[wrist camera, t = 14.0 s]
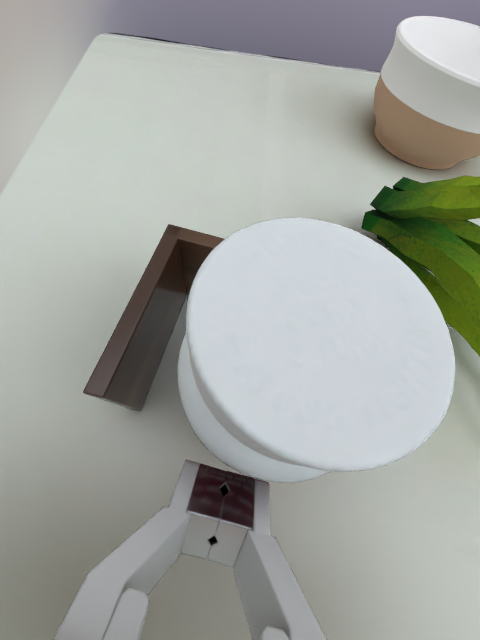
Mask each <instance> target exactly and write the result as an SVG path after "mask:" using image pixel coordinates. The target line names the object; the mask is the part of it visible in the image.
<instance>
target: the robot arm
mask: <svg viewBox="0 0 480 640" xmlns="http://www.w3.org/2000/svg"><path fill="white" fill-rule="evenodd" d="M199 465H200V466H199ZM180 553H182V554H186V555H190V556H195V557H199V558H203V559H207V560H210V561H213V562H216V563H220V564H223V565H226V566H229V567H232V568H233V572H234V576H235V579H236V583H237V586H238V590H239V593H240V597H241V600H242V604H243V608H244V611H245V615H246V618H247V622H248V625H249V629H250V632H251V636H252V640H327V639H326V637H325V635H324V633H323V631H322V629H321V627H320V625H319V623H318V621H317V619H316V617H315V615H314V613H313V611H312V609H311V607H310V605H309V603H308V601H307V599H306V597H305V595H304V593H303V591H302V589H301V587H300V585H299V583H298V581H297V579H296V577H295V575H294V573H293V571H292V569H291V567H290V565H289V563H288V561H287V559H286V557H285V555H284V553H283V551H282V549H281V547H280V545H279V543H278V541H277V539H276V537H273V536H271V519H270V486H269V483H268V482H265V481H262V480H258V479H254V478H252V477H248V476H244V475H240V474H237V473H233V472H229V471H227V472H226V471H223V470H220V469H217V468H213V467H210V466H207V465H204V464H200V463H197V462H193V461H190V460H186V461H185V463H184V465H183V468H182V470H181V473H180V476H179V479H178V482H177V484H176V487H175V490H174V493H173V496H172V498H171V501H170V504H169V507H163V508H161V509H160V510H159V511H158V512H157V513H156V514H155V515H153V516H152V517H151V518H150V519H149V520H148V521H147V522H145V523H144V524H143V525H142V526H141V527H140V528H139V529H138V530H136V531H135V532H134V533H133V534H132V535H131V536H130V537H128V538H127V539H126V540H125V541H124V542H123V543H122V544H121V545H119V546H118V547H117V548H116V549H115V550H114V551H113V552H111V553H110V554H109V555H108V556H107V557H106V558H105V559H103V560H102V561H101V562H100V563H99V564H98V565H97V566H96V567H94V568H93V569H92V570H91V571H90V572H89V573H88V574H87V576H86V578H85V580H84V582H83V584H82V586H81V587H80V589H79V591H78V593H77V595H76V597H75V599H74V601H73V603H72V604H71V606H70V608H69V610H68V612H67V614H66V616H65V618H64V619H63V621H62V623H61V625H60V627H59V629H58V631H57V633H56V634H55V636H54V638H53V640H140V639H141V634H142V630H143V626H144V621H145V617H146V613H147V609H148V604H149V598H148V596H147V595H148V594H149V593H150V592H151V590H152V589H153V588H154V587H155V585H156V584H157V583H158V582H159V581H160V579H161V578H162V577H163V576H164V574H165V573H166V572H167V571H168V569H169V568H170V567H171V566H172V564H173V563H174V562H175V561H176V559H177V558H178V557H179V556H180Z"/></svg>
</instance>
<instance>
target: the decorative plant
mask: <svg viewBox="0 0 480 640" xmlns="http://www.w3.org/2000/svg"><path fill="white" fill-rule="evenodd" d="M370 205H371V206H373V207H374V208H375V209H376V210H371V211H368V212H366V213H365V215H364V219H363V223H362V229H364V230H367V231H369V232H372V233H374V234H376V235H377V238H378V239H379V240H381V241H382V242H384V243H385V244H386V245H387V247H388V248H389V250H390V251H391V253H392V254H394V255H395V256H396V257H398V258H399V259H400V260H401V261H402V262H403V263H404V264H405V265H407V266H408V267H409V268H410V269H411V270H412V272H413V273H414V274H415V275H416V276H417V277H418V278H419V279H420V281H421V282H422V283H423V284H424V285H425V286H426V288H427V289H428V291H429V292H430V294H431V295H432V297H433V298H434V300H435V302H436V303H437V305H438V307H439V309H440V311H441V313H442V315H443V318H444V320H445V321H446V322H447V323H448V324H449V325H451V326H452V327H453V328H454V329H455V330H456V331H458V332H459V333H460V334H461V335H462V336H463V337H464V338H465V339H466V340H467V342H468V343H469V344H470V345H471V346H472V348H473V349H474V350H475V351H476V352H477V354H478V355H479V356H480V226H478V225H476V224H474V223H472V222H470V221H468V219H476V218H480V177H473V176H461V177H457V178H453V179H449V180H442V181H434V182H428V183H420V182H417V181H414V180H411V179H408V178H405V177H403V178H402V179H401V180H400V181H398V182H397V183H396V184H395V185H394V186H393V189H391V188H389V187H387V186H384V188H383V189H382V190H381V191H380V193H379V194H378V195H377V196H376V198H375V199H374V200H373V201H372V202H371V204H370ZM422 266H423V267H424V268H423V267H422ZM425 268H426V269H428V270H429V271H431V272H432V273H433V274H434V275H435V277H434V276H433V275H432V274H431V273H429V272H428V271H427V270H426V269H425Z"/></svg>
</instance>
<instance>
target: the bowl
mask: <svg viewBox="0 0 480 640" xmlns="http://www.w3.org/2000/svg"><path fill="white" fill-rule="evenodd" d="M374 111H375V118H376V125H375V128H374V131H375V135H376V138H377V139H378V141H379V142H380V144H381V145H382V146H383V147H384V148H385V149H386V150H388V151H389V152H390V153H391V154H393V155H394V156H396V157H398V158H399V159H401V160H403V161H405V162H408V163H410V164H413V165H415V166H418V167H423V168H427V169H435V170H438V169H447V168H450V167H452V166H454V165H455V164H456V163H457V162H460V161H464V160H467V159H470V158H473V157H477V156H479V155H480V27H479V26H476V25H473V24H470V23H466V22H462V21H458V20H452V19H447V18H442V17H433V16H417V17H410V18H407V19H405V20H403V21H402V22H401V23H400V24H399V25H398V27H397V30H396V36H395V42H394V45H393V49H392V50H391V52H390V54H389V56H388V58H387V60H386V62H385V63H384V65H383V67H382V70H381V74H380V77H379V80H378V82H377V85H376V88H375V96H374Z"/></svg>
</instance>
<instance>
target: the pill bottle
mask: <svg viewBox="0 0 480 640" xmlns="http://www.w3.org/2000/svg"><path fill="white" fill-rule="evenodd" d="M454 381H455V356H454V350H453V345H452V341H451V337H450V333H449V330H448V327H447V325H446V322H445V320H444V318H443V315H442V313H441V311H440V309H439V307H438V305H437V303H436V302H435V300H434V298H433V297H432V295H431V294H430V292H429V291H428V289H427V288H426V286H425V285H424V284H423V283H422V282H421V281H420V279H419V278H418V277H417V276H416V275H415V274H414V273H413V272H412V270H411V269H410V268H409V267H408V266H407V265H405V264H404V263H403V262H402V261H401V260H400V259H399V258H398V257H396V256H395V255H394V254H392V253H391V252H390V251H389V250H387V249H386V248H384V247H383V246H381V245H380V244H378V243H376V242H375V241H373V240H372V239H370V238H368V237H366V236H364V235H362V234H360V233H358V232H356V231H354V230H352V229H350V228H346V227H343V226H341V225H337V224H334V223H330V222H326V221H321V220H315V219H309V218H297V217H290V218H279V219H272V220H267V221H263V222H258V223H255V224H253V225H250V226H248V227H245V228H243V229H241V230H239V231H237V232H235V233H234V234H232V235H230V236H229V237H227V238H226V239H224V240H223V241H222V242H221V243H220V244H219V245H218V246H216V247H215V248H214V249H213V250H212V251H211V253H210V254H209V255H208V256H207V258H206V259H205V260H204V262H203V263H202V265H201V267H200V268H199V270H198V272H197V274H196V276H195V279H194V281H193V284H192V287H191V290H190V294H189V298H188V301H187V311H186V334H185V337H184V339H183V342H182V345H181V349H180V354H179V360H178V387H179V392H180V397H181V401H182V406H183V408H184V411H185V413H186V416H187V418H188V420H189V422H190V425H191V427H192V429H193V431H194V433H195V434H196V436H197V437H198V439H199V440H200V441H201V442H202V444H203V445H204V446H205V447H206V448H207V449H208V450H209V451H210V452H211V453H213V454H214V455H215V456H216V457H217V458H218V459H219V460H220V461H222V462H223V463H225V464H226V465H227V466H229V467H231V468H233V469H235V470H237V471H238V472H240V473H244V474H247V475H249V476H252V477H255V478H258V479H262V480H267V481H272V482H301V481H306V480H311V479H314V478H317V477H320V476H322V475H325V474H327V473H329V472H331V471H340V472H347V471H363V470H368V469H373V468H377V467H381V466H385V465H387V464H389V463H391V462H394V461H397V460H399V459H401V458H403V457H405V456H406V455H408V454H410V453H411V452H413V451H414V450H416V449H417V448H418V447H420V446H421V445H422V444H423V443H424V442H425V441H427V440H428V439H429V438H430V436H431V434H432V433H433V432H434V431H435V430H436V429H437V427H438V426H439V424H440V423H441V421H442V420H443V418H444V416H445V414H446V412H447V410H448V407H449V404H450V401H451V398H452V393H453V389H454Z"/></svg>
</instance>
